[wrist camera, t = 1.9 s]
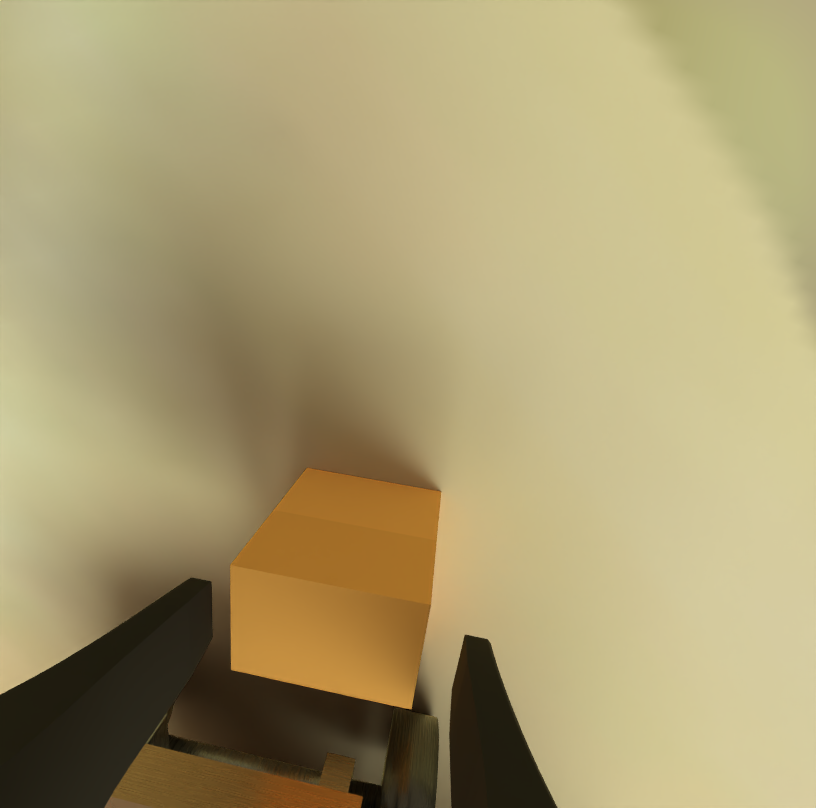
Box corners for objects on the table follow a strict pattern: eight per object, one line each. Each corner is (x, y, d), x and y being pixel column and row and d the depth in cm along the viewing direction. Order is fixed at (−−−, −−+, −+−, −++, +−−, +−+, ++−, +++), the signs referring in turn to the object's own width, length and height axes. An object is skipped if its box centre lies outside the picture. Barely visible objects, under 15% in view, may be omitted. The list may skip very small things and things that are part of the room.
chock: (441, 489, 15) (430, 605, 10) (415, 636, 17) (395, 794, 12) (308, 466, 15) (230, 565, 10) (299, 613, 18) (231, 756, 12)
